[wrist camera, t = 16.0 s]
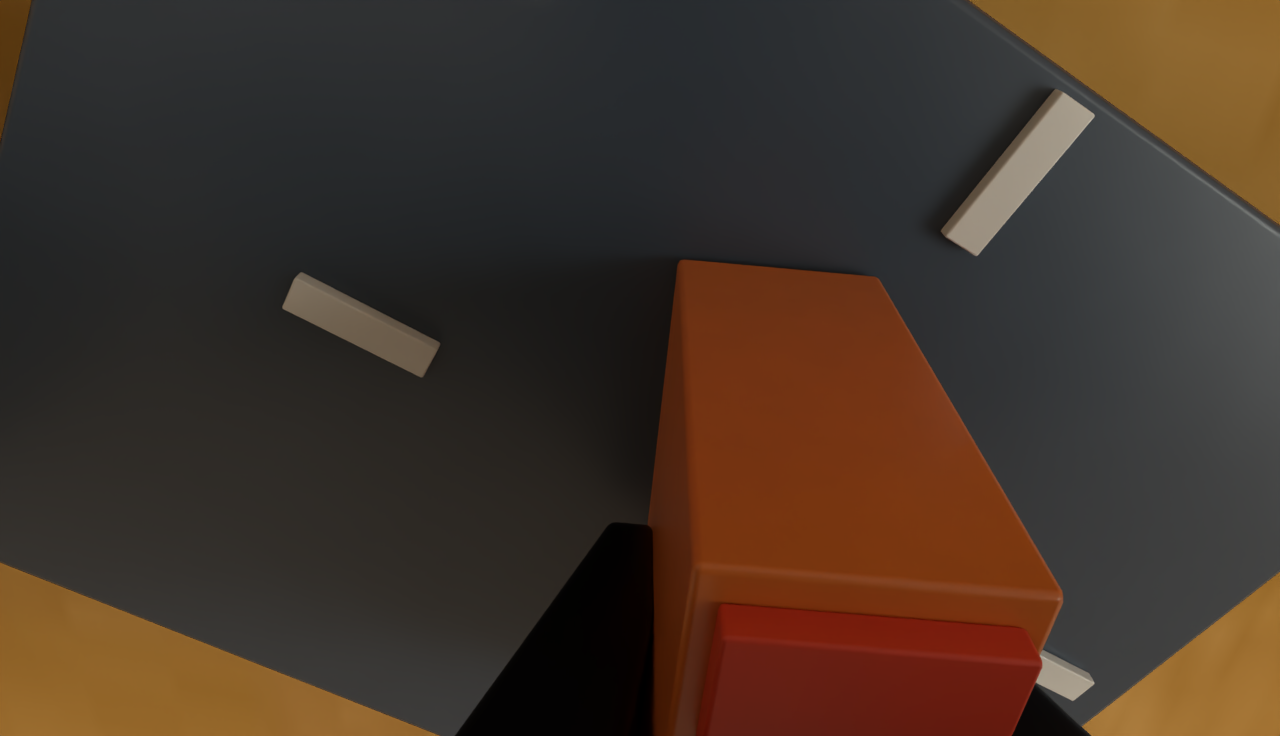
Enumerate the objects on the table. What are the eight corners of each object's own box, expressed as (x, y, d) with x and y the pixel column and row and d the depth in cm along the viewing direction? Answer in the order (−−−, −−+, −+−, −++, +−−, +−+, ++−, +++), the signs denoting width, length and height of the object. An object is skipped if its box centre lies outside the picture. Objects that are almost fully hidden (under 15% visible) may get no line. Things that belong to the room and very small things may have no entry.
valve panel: (77, 392, 12) (-102, 541, 9) (328, -420, 8) (138, -605, 5) (824, 727, 15) (861, 915, 12) (1303, 273, 11) (1531, 402, 8)
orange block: (777, 699, 10) (845, 1159, 6) (628, 688, 10) (609, 1143, 6) (879, 274, 8) (1094, 636, 4) (678, 255, 7) (694, 603, 4)
